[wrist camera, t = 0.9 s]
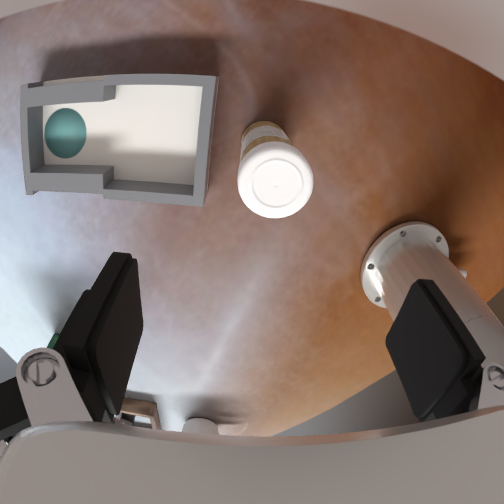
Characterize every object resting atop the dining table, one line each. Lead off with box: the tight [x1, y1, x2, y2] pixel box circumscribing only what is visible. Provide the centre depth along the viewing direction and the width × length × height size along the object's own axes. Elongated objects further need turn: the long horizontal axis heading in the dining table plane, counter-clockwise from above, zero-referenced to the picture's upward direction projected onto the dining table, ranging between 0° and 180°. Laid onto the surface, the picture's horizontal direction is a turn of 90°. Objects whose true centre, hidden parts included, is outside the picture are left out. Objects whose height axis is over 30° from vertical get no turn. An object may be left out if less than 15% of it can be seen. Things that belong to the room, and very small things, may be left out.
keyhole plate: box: [20, 74, 219, 207], centre depth 27 cm, size 20×12×4 cm, turn 83°
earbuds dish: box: [102, 398, 161, 430], centre depth 53 cm, size 15×13×3 cm
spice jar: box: [238, 121, 313, 218], centre depth 24 cm, size 5×5×14 cm
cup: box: [182, 418, 219, 435], centre depth 52 cm, size 11×8×8 cm
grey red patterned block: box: [114, 412, 135, 426], centre depth 53 cm, size 5×7×3 cm, turn 145°
